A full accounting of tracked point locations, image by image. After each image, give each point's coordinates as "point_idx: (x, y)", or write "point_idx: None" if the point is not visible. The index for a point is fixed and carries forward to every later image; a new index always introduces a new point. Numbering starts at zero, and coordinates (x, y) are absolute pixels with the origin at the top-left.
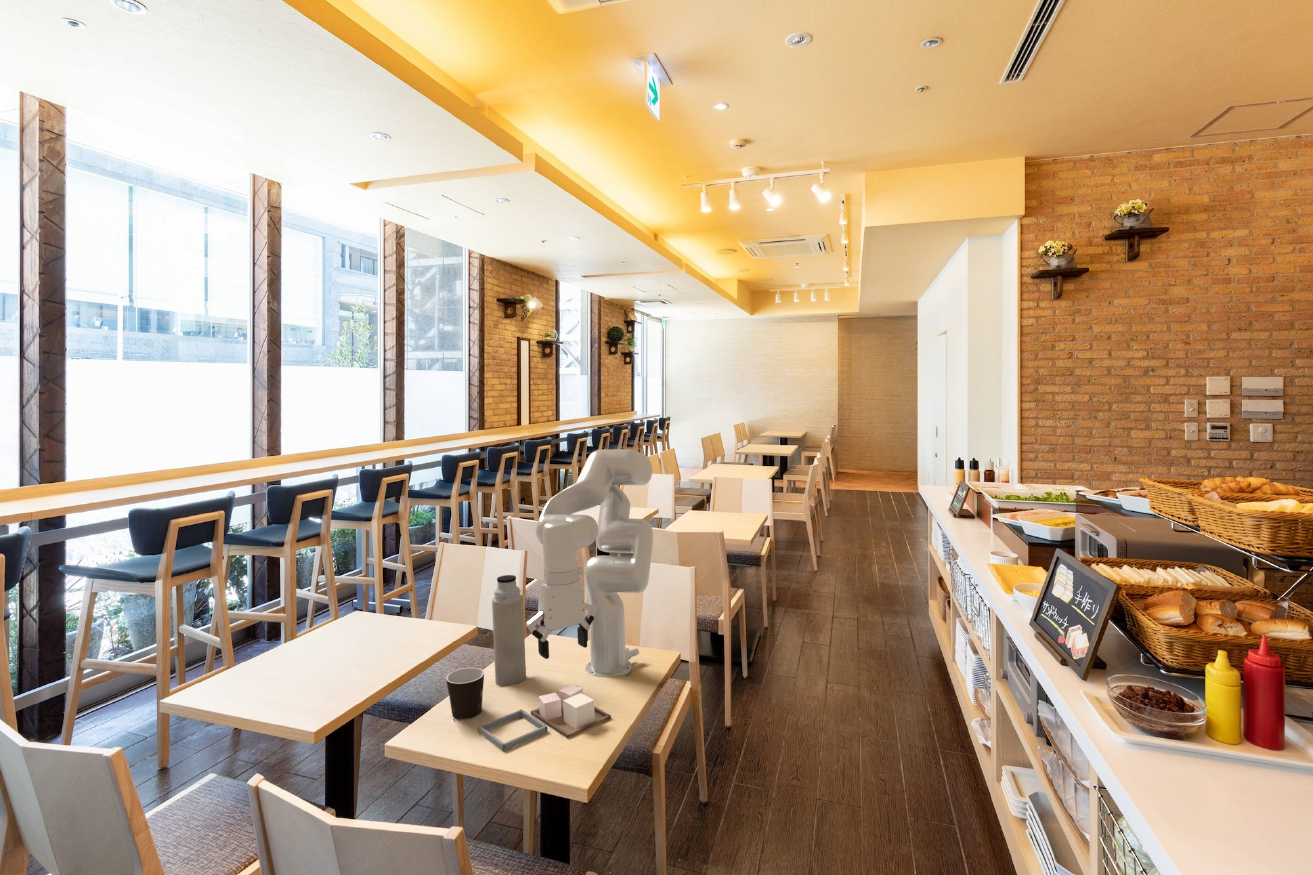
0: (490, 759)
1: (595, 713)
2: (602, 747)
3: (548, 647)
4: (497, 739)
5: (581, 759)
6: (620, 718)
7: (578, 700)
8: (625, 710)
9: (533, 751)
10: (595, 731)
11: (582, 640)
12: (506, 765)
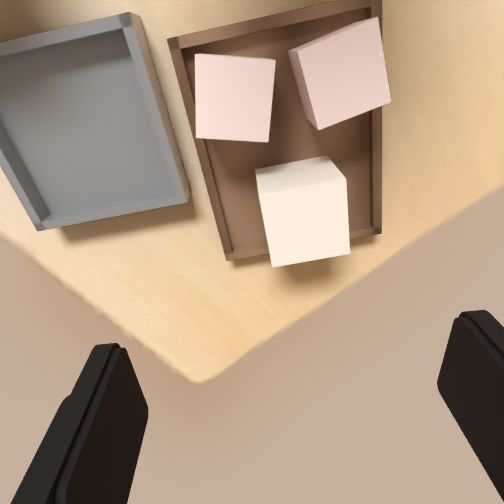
0: (16, 216)
1: (361, 178)
2: (289, 304)
3: (126, 494)
4: (21, 191)
5: (228, 319)
6: (408, 217)
7: (305, 226)
8: (452, 185)
9: (134, 240)
10: None
11: (469, 412)
12: (59, 260)
